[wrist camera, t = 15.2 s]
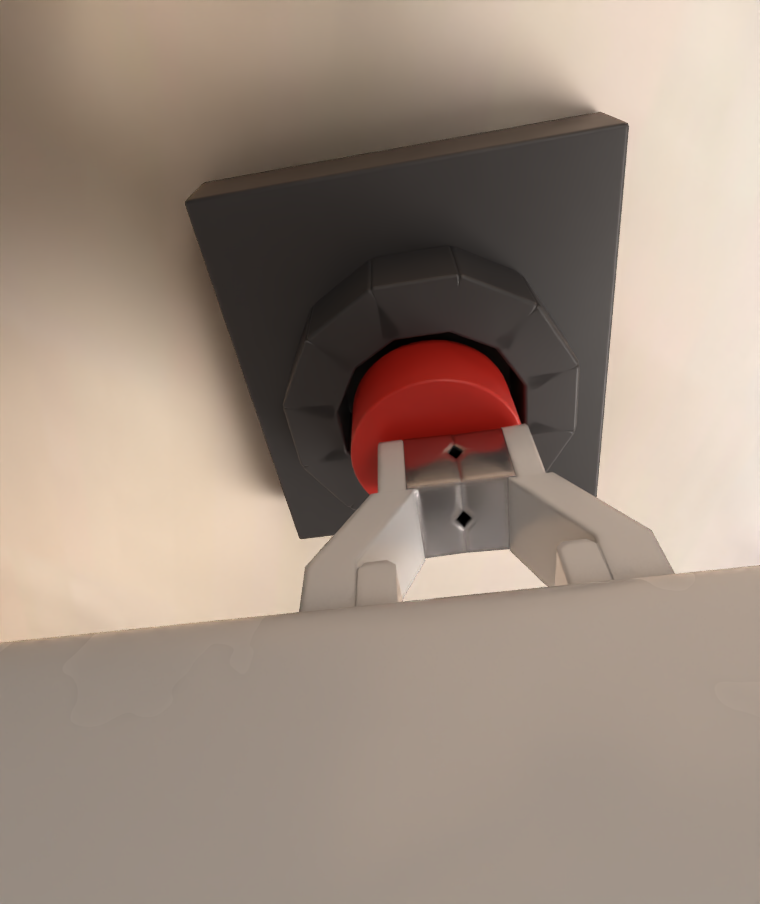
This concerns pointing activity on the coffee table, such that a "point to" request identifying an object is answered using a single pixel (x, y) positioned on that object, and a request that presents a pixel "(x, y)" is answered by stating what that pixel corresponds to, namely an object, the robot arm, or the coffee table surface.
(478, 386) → the button
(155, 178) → the coffee table surface
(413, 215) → the button base block
